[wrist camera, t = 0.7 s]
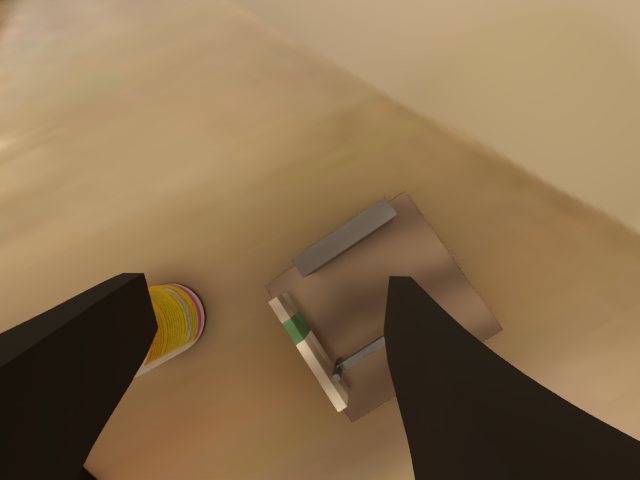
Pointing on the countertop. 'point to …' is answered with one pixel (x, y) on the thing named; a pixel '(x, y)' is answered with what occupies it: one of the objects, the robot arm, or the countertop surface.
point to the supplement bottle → (173, 323)
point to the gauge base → (368, 297)
